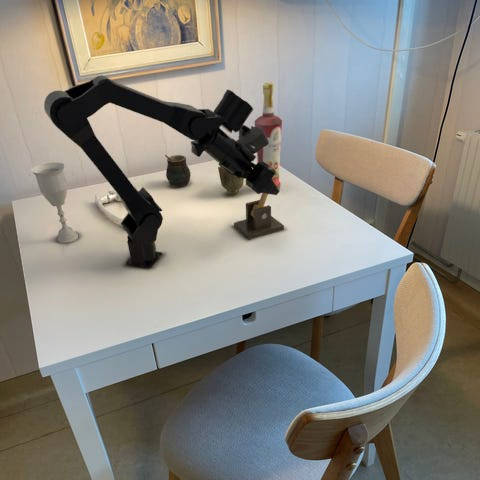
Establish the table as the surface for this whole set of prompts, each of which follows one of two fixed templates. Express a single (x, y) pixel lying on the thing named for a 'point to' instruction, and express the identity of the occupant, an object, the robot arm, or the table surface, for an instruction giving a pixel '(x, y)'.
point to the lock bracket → (258, 222)
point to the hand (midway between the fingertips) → (268, 186)
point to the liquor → (270, 133)
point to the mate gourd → (177, 171)
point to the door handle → (112, 196)
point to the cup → (230, 182)
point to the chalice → (55, 194)
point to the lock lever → (260, 202)
